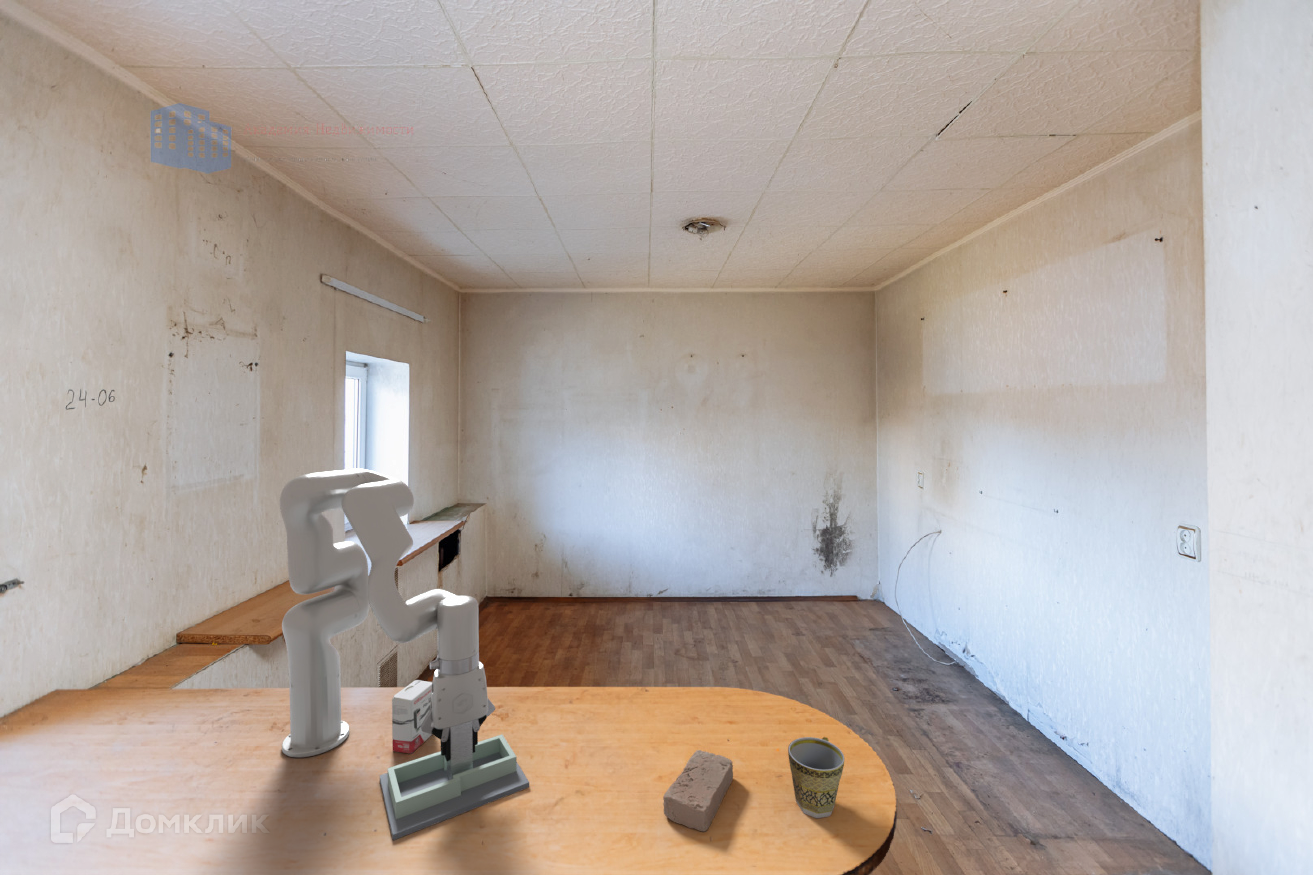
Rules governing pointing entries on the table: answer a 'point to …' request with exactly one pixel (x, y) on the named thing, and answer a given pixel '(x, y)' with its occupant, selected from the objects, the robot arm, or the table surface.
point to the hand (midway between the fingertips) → (459, 752)
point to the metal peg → (460, 749)
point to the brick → (698, 790)
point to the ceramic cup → (815, 774)
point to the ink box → (410, 716)
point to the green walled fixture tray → (448, 786)
